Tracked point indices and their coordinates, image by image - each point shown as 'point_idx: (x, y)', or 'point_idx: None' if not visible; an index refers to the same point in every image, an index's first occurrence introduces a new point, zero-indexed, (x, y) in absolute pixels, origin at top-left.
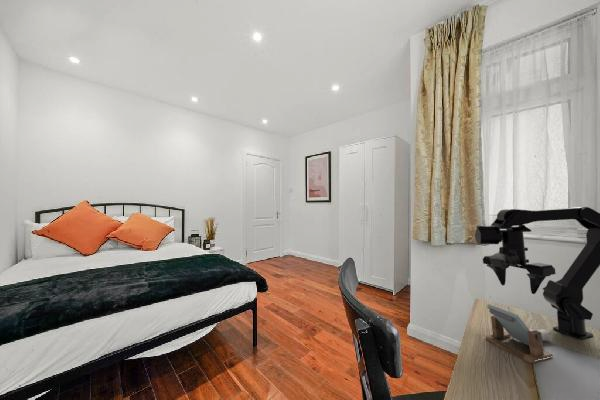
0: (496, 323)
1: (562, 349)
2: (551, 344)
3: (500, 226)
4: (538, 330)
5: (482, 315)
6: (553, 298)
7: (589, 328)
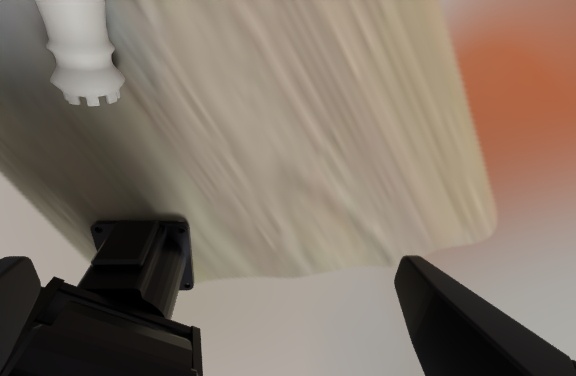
0: None
1: (9, 49)
2: None
3: None
4: (80, 50)
5: (421, 68)
6: (66, 357)
7: None
